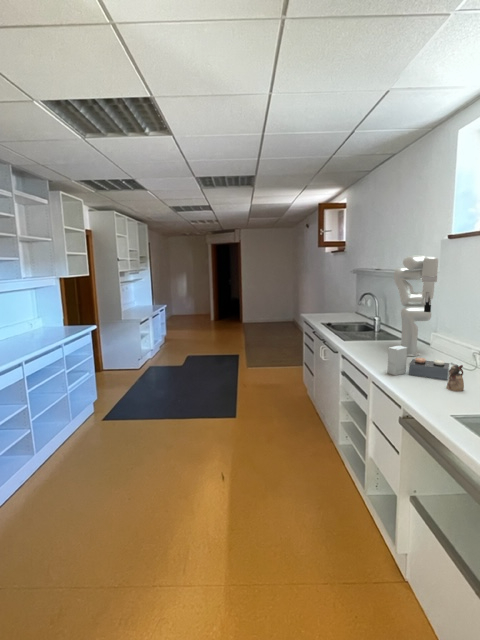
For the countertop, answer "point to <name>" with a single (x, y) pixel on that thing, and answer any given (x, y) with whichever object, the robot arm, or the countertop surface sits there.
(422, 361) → the knob
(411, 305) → the robot arm
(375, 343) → the countertop surface
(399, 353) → the skincare box
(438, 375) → the housing
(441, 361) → the knob
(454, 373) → the figurine
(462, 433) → the countertop surface
